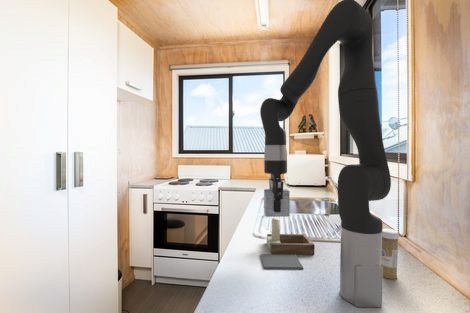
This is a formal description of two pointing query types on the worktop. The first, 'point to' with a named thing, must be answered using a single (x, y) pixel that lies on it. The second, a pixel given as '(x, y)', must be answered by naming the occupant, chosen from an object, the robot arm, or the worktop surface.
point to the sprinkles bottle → (389, 253)
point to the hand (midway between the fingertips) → (275, 210)
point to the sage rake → (274, 233)
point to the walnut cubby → (293, 245)
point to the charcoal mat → (281, 261)
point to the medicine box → (270, 204)
